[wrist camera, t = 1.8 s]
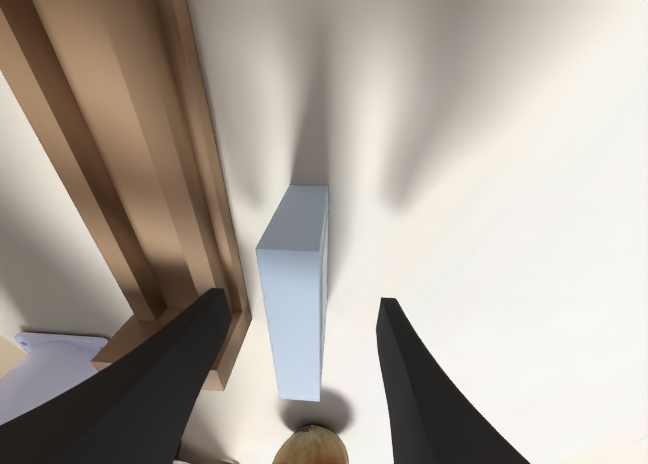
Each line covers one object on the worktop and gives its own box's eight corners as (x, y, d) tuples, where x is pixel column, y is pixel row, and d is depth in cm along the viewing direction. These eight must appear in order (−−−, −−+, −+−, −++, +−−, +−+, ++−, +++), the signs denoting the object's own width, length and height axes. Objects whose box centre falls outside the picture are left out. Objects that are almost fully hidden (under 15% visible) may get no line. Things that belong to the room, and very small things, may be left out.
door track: (251, 319, 18) (223, 391, 14) (161, 314, 19) (106, 381, 14) (166, -94, 8) (-28, -293, 4) (-28, -88, 9) (-404, -264, 4)
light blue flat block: (327, 308, 17) (320, 401, 12) (297, 306, 17) (278, 398, 12) (329, 185, 13) (320, 251, 8) (289, 184, 13) (253, 248, 8)
